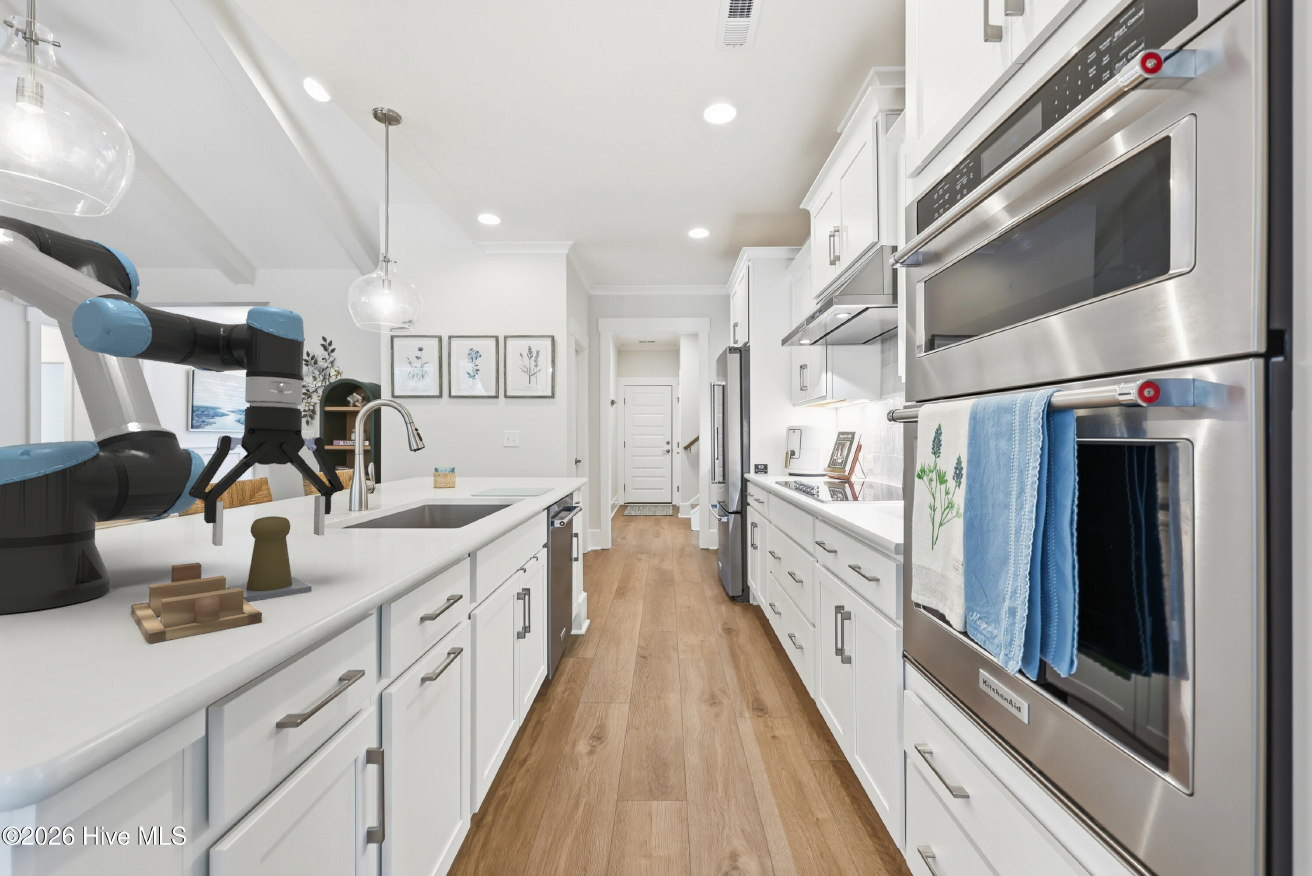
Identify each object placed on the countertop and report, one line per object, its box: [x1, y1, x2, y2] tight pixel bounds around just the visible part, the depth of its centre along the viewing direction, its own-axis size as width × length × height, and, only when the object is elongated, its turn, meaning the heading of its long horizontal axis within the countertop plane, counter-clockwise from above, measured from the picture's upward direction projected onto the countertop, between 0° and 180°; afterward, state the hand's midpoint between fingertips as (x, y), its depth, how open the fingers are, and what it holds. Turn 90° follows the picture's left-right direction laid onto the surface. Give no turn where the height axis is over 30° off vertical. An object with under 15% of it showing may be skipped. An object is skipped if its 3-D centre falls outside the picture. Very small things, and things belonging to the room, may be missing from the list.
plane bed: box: [130, 562, 263, 644], centre depth 74 cm, size 17×11×6 cm, turn 49°
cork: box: [246, 515, 293, 591], centre depth 87 cm, size 6×6×11 cm
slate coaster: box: [227, 576, 312, 603], centre depth 87 cm, size 9×9×1 cm
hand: (271, 539), depth 87 cm, fingers open, 13 cm apart
